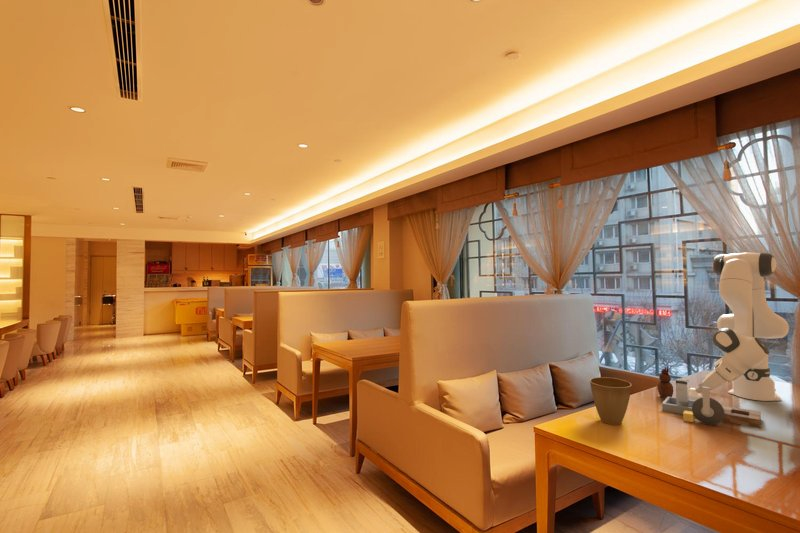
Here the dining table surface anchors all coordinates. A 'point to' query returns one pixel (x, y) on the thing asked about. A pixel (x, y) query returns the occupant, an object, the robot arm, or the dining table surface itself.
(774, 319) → the robot arm
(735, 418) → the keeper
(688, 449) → the dining table surface
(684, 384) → the pin
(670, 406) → the tray
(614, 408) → the plant pot
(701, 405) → the grey disc with lever
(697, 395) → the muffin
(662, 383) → the wooden figurine
